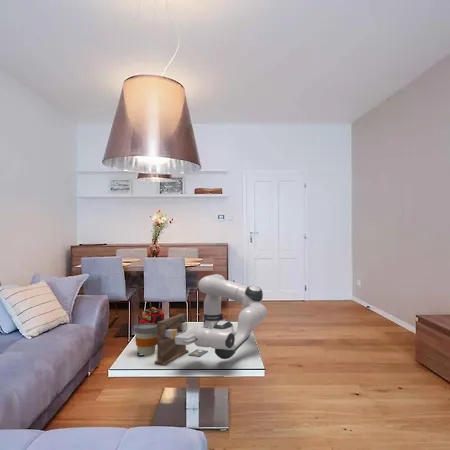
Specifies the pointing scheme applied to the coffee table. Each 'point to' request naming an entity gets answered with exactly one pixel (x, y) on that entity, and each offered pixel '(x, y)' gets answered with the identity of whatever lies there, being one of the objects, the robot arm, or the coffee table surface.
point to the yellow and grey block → (170, 333)
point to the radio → (151, 316)
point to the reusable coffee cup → (146, 338)
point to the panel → (169, 340)
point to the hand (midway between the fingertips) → (177, 334)
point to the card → (198, 353)
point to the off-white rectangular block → (183, 326)
